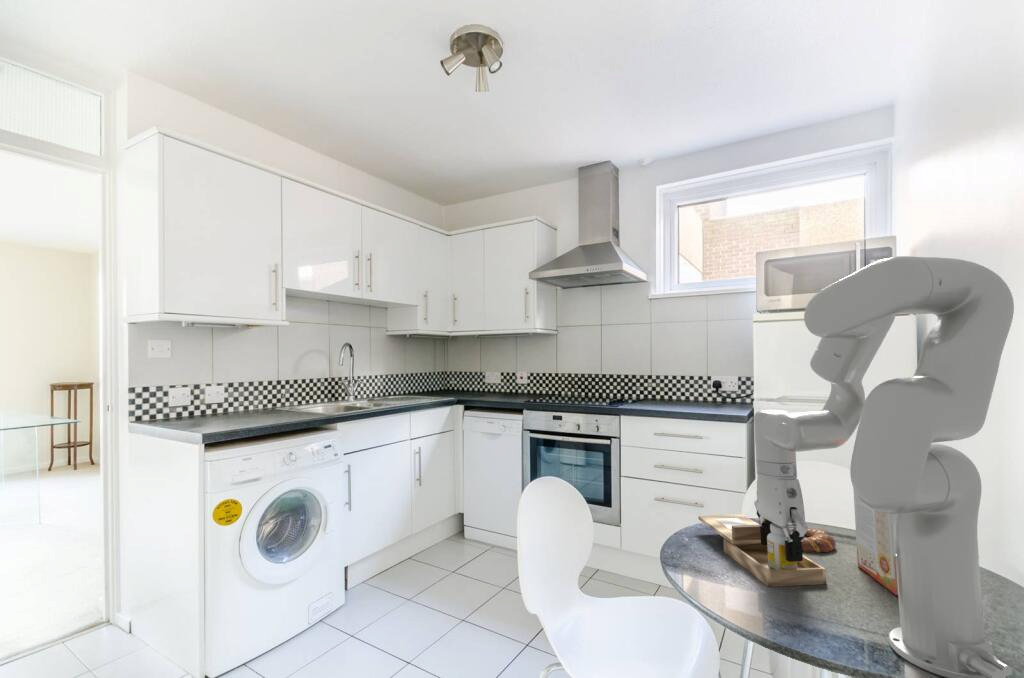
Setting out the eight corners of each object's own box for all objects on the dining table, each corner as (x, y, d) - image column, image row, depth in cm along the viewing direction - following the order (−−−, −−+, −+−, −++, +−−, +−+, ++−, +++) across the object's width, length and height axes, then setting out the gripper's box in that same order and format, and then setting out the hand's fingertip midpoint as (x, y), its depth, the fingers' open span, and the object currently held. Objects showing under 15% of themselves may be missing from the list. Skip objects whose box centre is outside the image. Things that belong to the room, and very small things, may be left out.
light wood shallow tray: (826, 584, 95) (825, 568, 95) (768, 586, 94) (767, 571, 95) (773, 549, 113) (772, 536, 113) (724, 551, 112) (723, 538, 112)
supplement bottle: (764, 571, 100) (761, 525, 100) (774, 564, 103) (772, 519, 104) (791, 580, 96) (789, 531, 96) (802, 572, 99) (799, 525, 100)
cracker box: (931, 599, 88) (923, 485, 89) (894, 596, 89) (887, 484, 90) (888, 567, 102) (881, 469, 103) (856, 565, 103) (850, 468, 104)
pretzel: (775, 548, 115) (773, 532, 115) (781, 535, 123) (780, 520, 124) (834, 559, 107) (833, 542, 108) (837, 544, 116) (836, 528, 116)
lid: (784, 542, 109) (783, 525, 109) (733, 544, 108) (732, 527, 108) (742, 517, 126) (741, 503, 127) (698, 519, 126) (697, 504, 126)
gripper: (821, 477, 92) (827, 569, 91) (769, 460, 110) (773, 536, 109) (784, 478, 92) (789, 570, 91) (737, 461, 109) (741, 538, 108)
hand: (780, 551), depth 100 cm, fingers open, 8 cm apart
